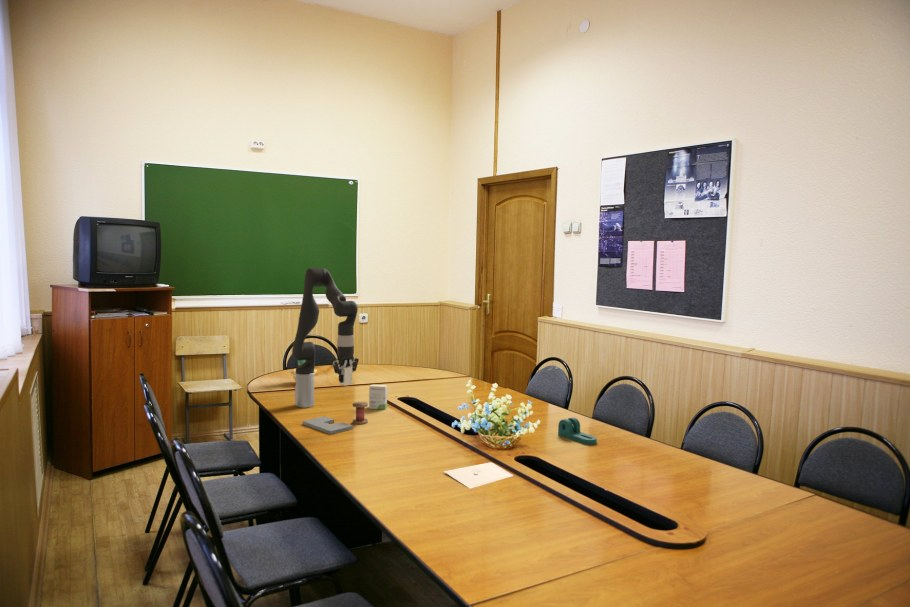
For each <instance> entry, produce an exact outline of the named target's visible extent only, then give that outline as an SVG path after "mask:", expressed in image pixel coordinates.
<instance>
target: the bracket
mask: <svg viewBox="0 0 910 607" xmlns="http://www.w3.org/2000/svg"><path fill="white" fill-rule="evenodd" d="M557 428H558V429H557V430H558V432H557V435H558V436H560V437H563V438H566V439H569V440H572V441H575V442H577V443H580V444H583V445H588V446H591V445H592V446H593V445H596V444H597V441H598V440H597V439H598V438H597V436H595V435H592V434H591V435H590V434H588V433H585V432H582V431H581V423H580V421H579V419H578V418H576V417H575V416H574V417H568V418H565V419H561V420H560V421H558V427H557Z"/></svg>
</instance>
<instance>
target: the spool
mask: <svg viewBox="0 0 910 607" xmlns="http://www.w3.org/2000/svg"><path fill="white" fill-rule="evenodd" d="M352 407H353V408H355V418H354V419H352V424H353V425H365V424H368V422H369V421H368V418H365V408H367V407H369V403H368V402H367V401H356V402H355V401H354V402H353V403H352Z"/></svg>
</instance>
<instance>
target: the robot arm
mask: <svg viewBox="0 0 910 607" xmlns="http://www.w3.org/2000/svg"><path fill="white" fill-rule="evenodd" d="M304 274H305V275H304V281H303V282H304V283H303V292H302V294H303V295H302V299H301V300H302V301H301V306H300V310H299V311H300V312H299V316H298V323H297V330H296V333H295V338H294V341H293V345H292V348H291V350H292V351H291V353H292V354H291V355H292V358H293V360H295V361H300V360H305V362H304V363H303V364H302V365H300V366H296V368H295V369H296V381H295V387H294V391H295V392H294V405H295V406H296V407H297V408H305V409H306V408H312V407H314V406H315V375H314V369H315V367H316V347H315V344H314V342H313V341H305V340H306V338H307V336H308V335H309V334H310V333H311V332H312V331H313V329H314V328H315V327H316V326H317V324H318V321H319V315H320V308H319V305H318V303H317V301H316V299H315V297H314V296H313V295H314V293H313V292H314V288H320V287H322V288H323V287H325V288H326V289H325V297H326V300H328V302H329V304H331V306H332V310H333V312H334V314H335V315H336V316H337V317H339V318H341V317H342V318H343V317H344V318H345V317H346V319H345V320H343V321H340V322H338V323H337V338H336V339H337V340H336V341H337V342H336V343H337V344H336V347H337V348H336V349H337V351H336V354H337V360H333V361H331V364H332V367H333V370H334V373H335V374H336V375H337V374H338V383H339V382H341V383H343V382H344V375H343V373H344V368H345V367H347V366H348V367H352V374H353V373H354V372H356V371H357V368H358V364H359V360H360V359H359V358H357V357H354V355H355V338H354V337H355V336H354V328H355V326H354V325H355V323H356V318H357V315H358V308H359V307H358V304H357V303H356V301H354V300H347V297H346V296H345V294H343V292H342V291H341V290H340V289H339V288H338V287H337V285H336V283H335V281H334V279H333V277H332V275H331V273H330V272H329V270H328V269H327V268H325V267H310V268H307V269H306V271H305V273H304ZM341 367H342V368H341Z"/></svg>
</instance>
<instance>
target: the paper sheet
mask: <svg viewBox="0 0 910 607" xmlns="http://www.w3.org/2000/svg"><path fill="white" fill-rule="evenodd" d="M443 472H444V473H445V474H447V475H449V477H451V478H453V479H454V480H456V481H458V482H459V483H461V484H462V485H464V486H466V487H467V488H468V489H470V490H471V489H473V488H477V487H481V486H484V485H488V484H491V483H494V482H497V481H501V480H504V479H508V478H511V477H514V475H513V474H512V473H510V472H508V471H507V470H505V469H504V468H501V467H500V466H499V465H496V464H495V463H493V462H486V463H485V462H484V463H481V464H475V465H470V466H465V467H460V468H455V469H450V470H443Z"/></svg>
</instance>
